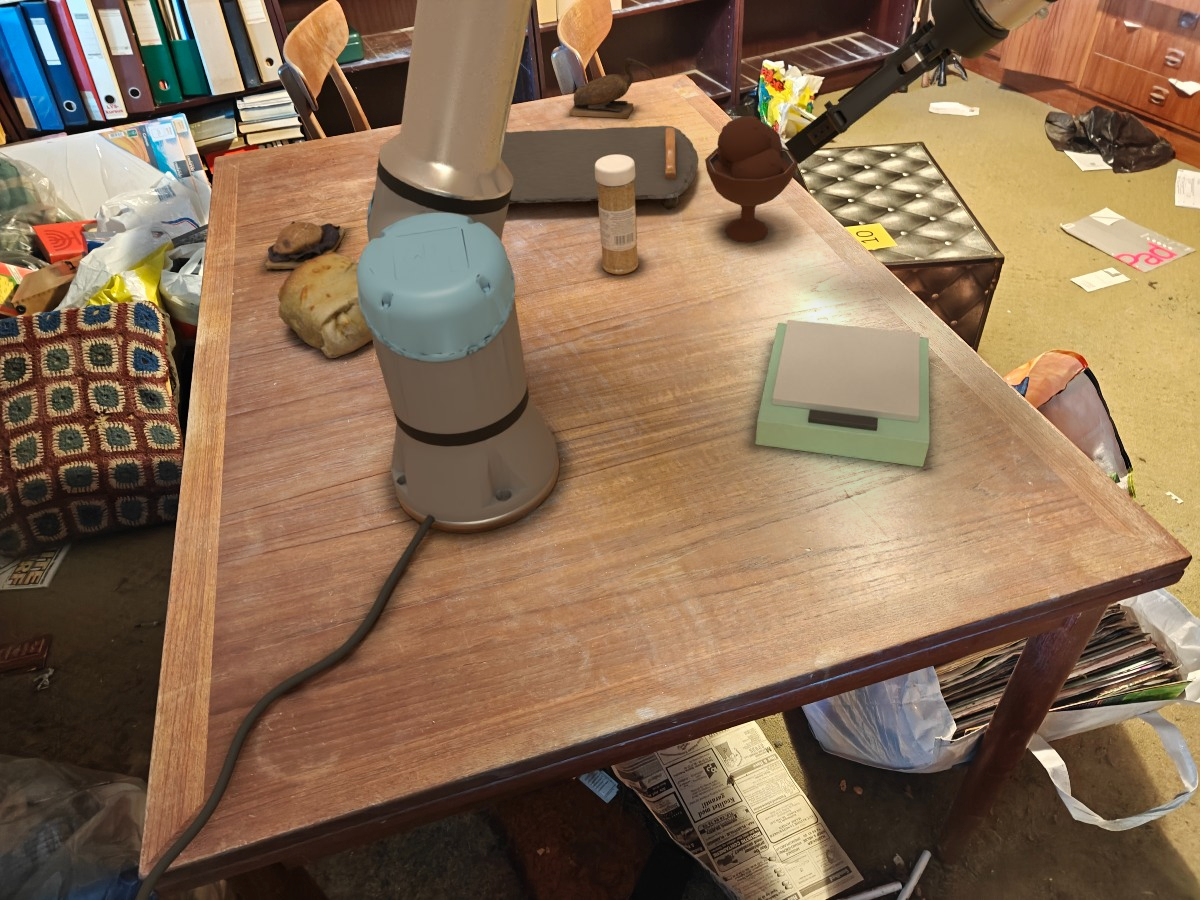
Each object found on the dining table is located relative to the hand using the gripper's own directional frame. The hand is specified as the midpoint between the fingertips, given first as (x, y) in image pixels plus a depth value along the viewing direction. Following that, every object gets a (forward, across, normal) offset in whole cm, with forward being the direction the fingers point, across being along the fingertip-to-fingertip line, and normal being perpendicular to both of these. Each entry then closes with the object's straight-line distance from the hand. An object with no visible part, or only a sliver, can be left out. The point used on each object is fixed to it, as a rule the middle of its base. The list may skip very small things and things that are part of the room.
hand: (820, 130), depth 96 cm
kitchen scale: (-1, -25, -22) cm, 33 cm away
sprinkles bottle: (+23, -15, +2) cm, 28 cm away
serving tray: (+38, 0, +16) cm, 41 cm away
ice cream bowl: (+16, 0, -5) cm, 17 cm away
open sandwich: (+50, -32, +29) cm, 66 cm away
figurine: (+43, +24, +22) cm, 54 cm away
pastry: (+38, -42, +17) cm, 59 cm away
